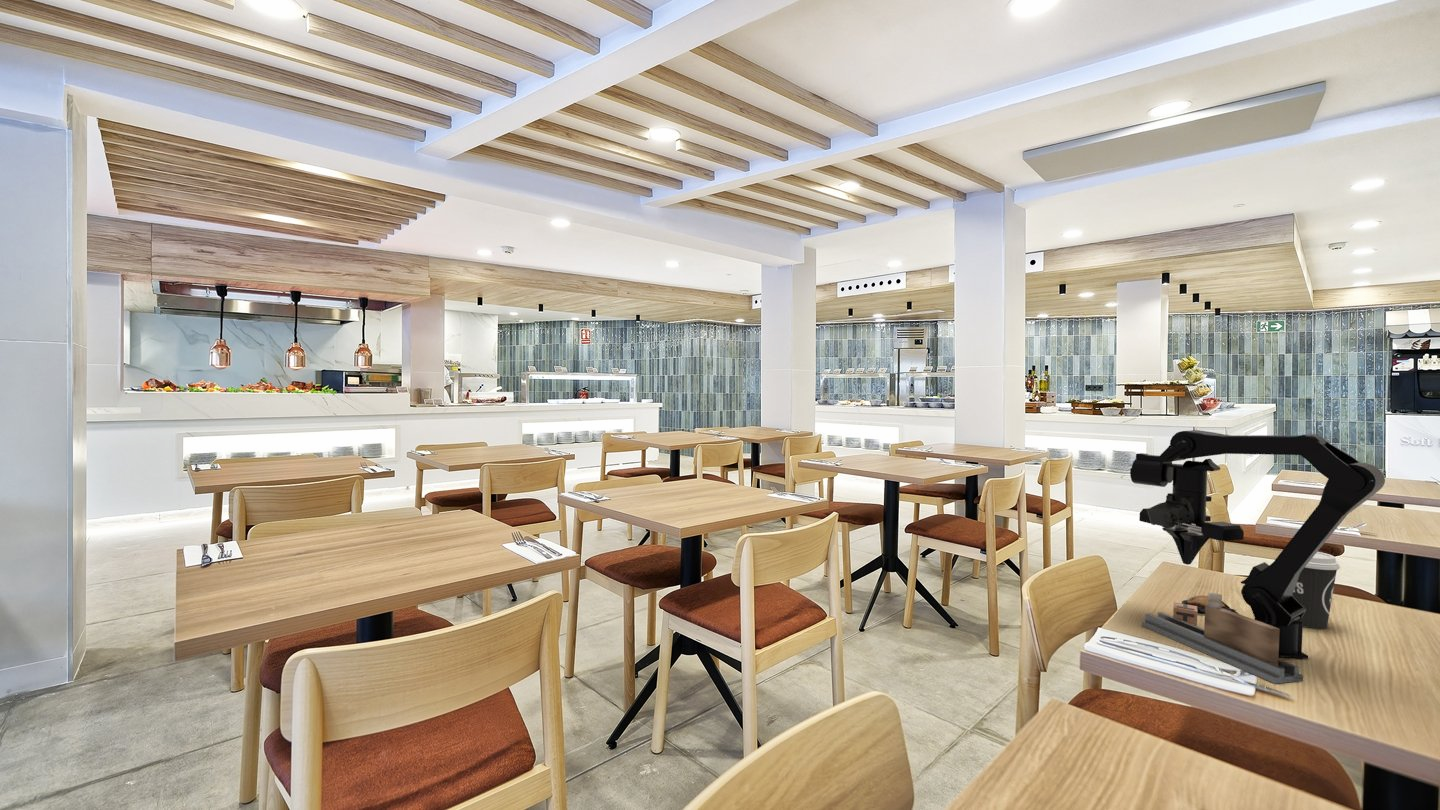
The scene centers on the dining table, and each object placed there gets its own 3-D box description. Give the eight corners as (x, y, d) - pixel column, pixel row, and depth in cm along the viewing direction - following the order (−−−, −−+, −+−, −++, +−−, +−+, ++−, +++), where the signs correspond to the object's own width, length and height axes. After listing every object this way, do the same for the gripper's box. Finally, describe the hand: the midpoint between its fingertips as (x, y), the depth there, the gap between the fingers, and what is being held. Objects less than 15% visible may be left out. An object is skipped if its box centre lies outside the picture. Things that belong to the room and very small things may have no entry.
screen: (1203, 641, 120) (1204, 592, 120) (1211, 640, 120) (1213, 592, 120) (1269, 669, 108) (1271, 615, 108) (1278, 668, 109) (1281, 614, 108)
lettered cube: (1173, 620, 134) (1173, 601, 134) (1196, 625, 132) (1197, 605, 132) (1172, 626, 131) (1173, 607, 131) (1196, 631, 129) (1197, 611, 129)
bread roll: (1191, 618, 137) (1192, 601, 137) (1173, 605, 146) (1173, 589, 145) (1248, 622, 135) (1248, 605, 135) (1226, 609, 143) (1227, 593, 143)
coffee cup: (1294, 612, 139) (1296, 546, 139) (1348, 628, 130) (1351, 557, 130) (1265, 617, 136) (1268, 549, 136) (1319, 634, 127) (1322, 561, 127)
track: (1141, 625, 131) (1141, 613, 131) (1165, 623, 132) (1165, 611, 132) (1275, 683, 106) (1275, 669, 106) (1302, 680, 107) (1303, 666, 107)
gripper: (1119, 484, 138) (1117, 554, 139) (1201, 499, 120) (1198, 579, 120) (1161, 482, 140) (1159, 551, 141) (1247, 497, 122) (1244, 576, 123)
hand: (1186, 564), depth 131 cm, fingers closed
